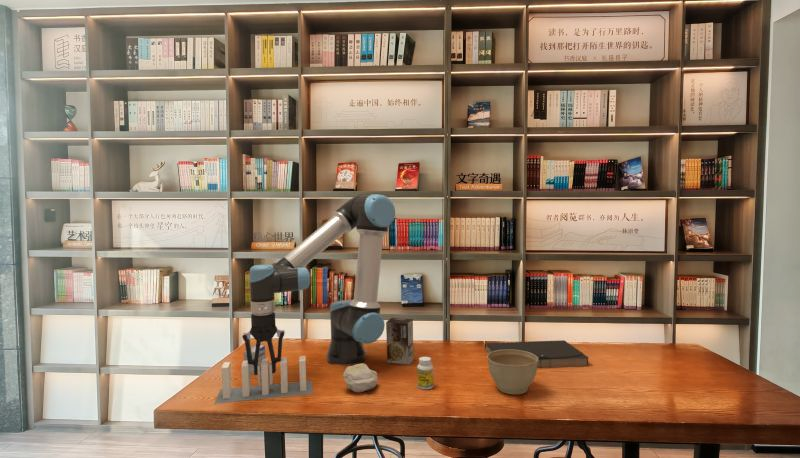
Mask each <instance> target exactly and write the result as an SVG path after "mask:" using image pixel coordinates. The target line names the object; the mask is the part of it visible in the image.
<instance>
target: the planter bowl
mask: <svg viewBox="0 0 800 458" xmlns="http://www.w3.org/2000/svg"><path fill="white" fill-rule="evenodd" d="M486 357H487V359H486V360H487V365H488V370H489V373H490V375H491V377H492V380H493V382H494V383H495V384H496V387H497V389H498V390H499V391H500V392H501V393H504V394H507V395H523V394H525V393H527V392H528V390H529V387H530V386H531V385H532V383H533V381H534V379H535V378H536V375H537V372H538V368H537V363H538V357H537V356H536V355H534V354H532V353H529V352H526V351H521V350H510V349H509V350H497V351H493V352H491V353H488V354H487V356H486Z"/></svg>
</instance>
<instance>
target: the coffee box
mask: <svg viewBox="0 0 800 458" xmlns="http://www.w3.org/2000/svg"><path fill="white" fill-rule="evenodd" d="M413 325H414V324H413V318H403V317H402V318H400V317H399V318H398V317H391V318H389V319H388V320H387V321H385V330H386V331H385V332H386V333H385V334H386V363H387V364H400V365H408V366H409V365H410V364H411V363H412V362H413V361H414V327H413Z"/></svg>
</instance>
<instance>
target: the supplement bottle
mask: <svg viewBox="0 0 800 458" xmlns="http://www.w3.org/2000/svg"><path fill="white" fill-rule="evenodd" d="M418 363H419V364H417V367H416V368H417V370H416V371H417V373H416V374H417V380H416V381H417V387H418V388H419V389H420V390H431V389H432V388H433V387H434V385H435V384H434V383H435V382H434V365H433V364H432V357H429V356H422V357H419V358H418Z"/></svg>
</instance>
